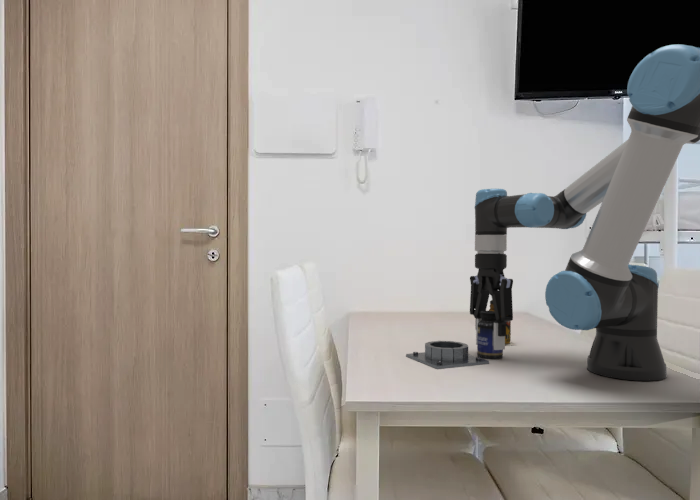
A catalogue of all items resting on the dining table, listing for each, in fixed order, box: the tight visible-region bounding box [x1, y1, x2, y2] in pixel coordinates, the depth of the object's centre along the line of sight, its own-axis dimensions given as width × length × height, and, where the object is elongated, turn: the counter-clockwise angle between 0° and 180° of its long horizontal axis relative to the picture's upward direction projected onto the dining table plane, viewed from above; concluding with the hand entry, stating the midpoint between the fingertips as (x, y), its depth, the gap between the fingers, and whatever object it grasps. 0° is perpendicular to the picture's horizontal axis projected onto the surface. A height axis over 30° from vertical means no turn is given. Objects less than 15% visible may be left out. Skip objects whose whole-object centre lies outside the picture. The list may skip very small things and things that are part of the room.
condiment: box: [488, 299, 517, 346], centre depth 146 cm, size 7×8×12 cm
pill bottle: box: [476, 310, 504, 360], centre depth 128 cm, size 6×6×11 cm
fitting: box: [405, 340, 490, 370], centre depth 124 cm, size 14×14×4 cm
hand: (490, 346), depth 128 cm, fingers closed on pill bottle, 6 cm apart
